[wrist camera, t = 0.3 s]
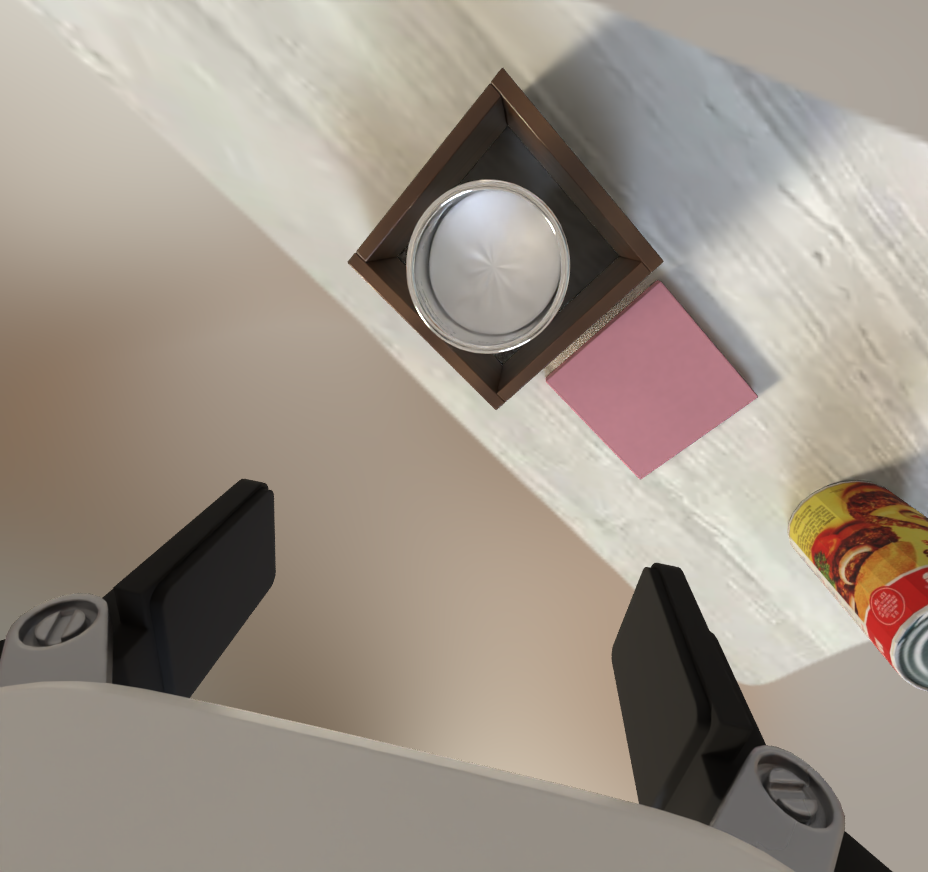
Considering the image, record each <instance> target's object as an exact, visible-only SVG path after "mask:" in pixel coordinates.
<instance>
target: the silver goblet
mask: <svg viewBox="0 0 928 872" xmlns="http://www.w3.org/2000/svg"><path fill="white" fill-rule="evenodd" d="M569 275H570V255H569V249H568V244H567V240H566V236H565V233H564V231H563V228H562V226H561V224H560V222H559V220H558V218H557V217H556V215H555V214H554V212H553V211H552V210H551V209H550V207H549V206H548V205H547V204H546V203H545V202H544V201H543V200H542V199H540V198H539V197H538V196H537V195H535V194H534V193H532V192H531V191H529V190H527V189H525V188H523V187H521V186H519V185H517V184H514V183H511V182H507V181H502V180H492V179H486V180H476V181H471V182H467V183H464V184H461V185H459V186H457V187H454V188H453V189H451V190H449V191H447V192H446V193H444V194H443V195H441V196H440V197H439V198H438V199H436V200H435V201H434V202H433V203H432V204H431V205H430V206H429V207H428V209H427V210H426V211H425V212H424V214H423V215H422V217H421V218H420V220H419V221H418V223H417V225H416V227H415V229H414V231H413V234H412V236H411V239H410V243H409V247H408V251H407V259H406V276H407V284H408V289H409V292H410V296H411V299H412V301H413V304H414V306H415V308H416V310H417V312H418V313H419V315H420V317H421V318H422V320H423V321H424V322H425V324H426V325H427V326H428V327H429V328H430V329H431V330H432V331H433V332H434V333H435V334H436V335H437V336H439V337H440V338H441V339H442V340H444V341H446V342H447V343H449V344H451V345H453V346H455V347H457V348H459V349H462V350H465V351H469V352H474V353H483V354H491V353H500V352H505V351H509V350H512V349H515V348H517V347H520V346H522V345H524V344H526V343H527V342H529V341H531V340H532V339H533V338H535V337H536V336H537V335H539V334H540V333H541V332H542V331H543V330H544V329H545V328H546V327H547V326H548V325H549V323H550V322H551V321H552V320H553V318H554V317H555V315H556V314H557V312H558V310H559V308H560V306H561V304H562V302H563V300H564V297H565V294H566V291H567V287H568V282H569Z"/></svg>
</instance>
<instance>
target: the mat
mask: <svg viewBox="0 0 928 872" xmlns="http://www.w3.org/2000/svg"><path fill="white" fill-rule="evenodd" d="M546 382H547V383H548V384H549V386H550V387H551V388H552V389H553V390H554V391H555V392H556V393H557V394H558V395H559V396H560V397H561V398H562V399H563V400H564V401H565V402H566V403H567V404H568V405H569V406H570V407H571V408H572V409H573V410H574V412H575V413H576V414H577V415H578V416H579V417H580V418H581V419H582V420H583V421H584V422H585V423H586V424H587V425H588V426H589V427H590V428H591V429H592V430H593V431H594V432H595V433H596V434H597V435H598V436H599V438H600V439H601V440H602V441H603V442H604V443H605V444H606V445H607V446H608V447H609V448H610V449H611V450H612V451H613V452H614V453H615V454H616V455H617V456H618V457H619V458H620V459H621V460H622V461H623V462H624V464H625V465H626V466H627V467H628V468H629V469H630V470H631V471H632V472H633V473H634V474H635V475H636V476H637V477H638V478H639V479H642V478H644V477H645V476H646V475H648V474H649V473H651V472H652V471H654V470H655V469H656V468H658V467H659V466H661V465H662V464H664V463H665V462H666V461H668V460H669V459H671V458H672V457H674V456H675V455H676V454H678V453H679V452H681V451H682V450H684V449H685V448H686V447H688V446H689V445H691V444H692V443H693V442H695V441H696V440H698V439H699V438H701V437H702V436H703V435H705V434H706V433H708V432H709V431H711V430H712V429H713V428H715V427H716V426H718V425H719V424H721V423H722V422H723V421H725V420H726V419H728V418H729V417H731V416H732V415H733V414H735V413H736V412H738V411H739V410H740V409H742V408H743V407H745V406H746V405H748V404H749V403H750V402H752V401H753V400H755V399H756V398H757V397H758V396H757V394H756V393H755V392H754V391H753V390H752V389H751V387H750V386H749V385H748V384H747V383H746V381H745V380H744V379H743V378H742V377H741V375H740V374H739V373H738V372H737V371H736V370H735V368H734V367H733V366H732V365H731V364H730V362H729V361H728V360H727V359H726V358H725V357H724V355H723V354H722V353H721V352H720V351H719V349H718V348H717V347H716V346H715V345H714V343H713V342H712V341H711V340H710V339H709V338H708V336H707V335H706V334H705V333H704V332H703V330H702V329H701V328H700V327H699V326H698V324H697V323H696V322H695V321H694V320H693V319H692V317H691V316H690V315H689V314H688V313H687V311H686V310H685V309H684V308H683V307H682V306H681V304H680V303H679V302H678V301H677V300H676V298H675V297H674V296H673V295H672V294H671V292H670V291H669V290H668V289H667V288H666V287H665V285H664V284H663V283H662V282H661V281H658V280H657V281H655V282H654V283H653V284H652V285H651V286H650V287H648V288H647V289H646V290H645V291H644V292H643V293H642V294H640V295H639V296H638V297H637V298H636V299H635V300H634V301H632V302H631V303H630V304H629V305H628V306H627V307H626V308H625V309H623V310H622V311H621V312H620V313H619V314H618V315H617V316H615V317H614V318H613V319H612V320H611V321H610V322H609V323H607V324H606V325H605V326H604V327H603V328H602V329H601V330H599V331H598V332H597V333H596V334H595V335H594V336H593V337H591V338H590V339H589V340H588V341H587V342H586V343H585V344H584V345H582V346H581V347H580V348H579V349H578V350H577V351H576V352H574V353H573V354H572V355H571V356H570V357H569V358H568V359H566V360H565V361H564V362H563V363H562V364H561V365H560V366H558V367H557V368H556V369H555V370H554V371H553V372H552V373H550V374H549V375H548V376H547V377H546Z"/></svg>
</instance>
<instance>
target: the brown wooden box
mask: <svg viewBox="0 0 928 872" xmlns="http://www.w3.org/2000/svg"><path fill="white" fill-rule="evenodd" d="M507 125H508V126H509V127H510V129H511V130H512V131H513V132H514V133H515V134H516V136H517V137H518V138H519V139H520V140H521V141H522V143H523V144H524V145H525V146H526V147H527V148H528V150H529V151H530V152H531V153H532V154H533V155H534V157H535V158H536V159H537V160H538V161H539V162H540V164H541V165H542V166H543V167H544V168H545V170H546V171H547V172H548V173H549V174H550V175H551V177H552V178H553V179H554V180H555V181H556V182H557V184H558V185H559V186H560V187H561V188H562V189H563V191H564V192H565V193H566V194H567V195H568V196H569V198H570V199H571V200H572V201H573V202H574V203H575V205H576V206H577V207H578V208H579V209H580V210H581V212H582V213H583V214H584V215H585V216H586V218H587V219H588V220H589V221H590V222H591V223H592V225H593V226H594V227H595V228H596V229H597V230H598V232H599V233H600V234H601V235H602V236H603V237H604V239H605V240H606V241H607V242H608V243H609V244H610V246H611V247H612V248H613V249H614V250H615V251H616V253H617V254H618V255H619V257H618V258H617V259H616V260H615V261H613V262H612V263H611V264H610V265H609V266H608V267H607V268H606V269H605V270H604V271H603V272H602V273H601V274H600V275H598V276H597V277H596V278H595V279H594V280H593V281H592V282H591V283H590V284H589V285H588V286H587V287H586V288H585V289H583V290H582V291H581V292H580V293H579V294H578V295H577V296H576V297H575V298H574V299H573V300H572V301H571V302H570V303H568V304H567V305H566V306H565V307H564V308H563V309H562V310H561V311H560V312H559V313H558V314H557V315H556V316H555V317H554V318H553V320H552V321H551V322H550V323H549V325H548V326H547V327H546V328H545V329H544V330H543V331H542V332H541V333H540V334H539V335H537V336H536V337H535V338H533V339H532V340H531V341H529V342H527V343H526V344H524V345H523V346H522V347H521V348H520V349H519V350H518V351H517V352H516V353H515V354H514V355H513V356H512V357H511V358H509V359H508V360H507V361H506V362H505V363H504V364H503V365H502V364H501V363H500V362H499V361H498V360H497V359H496V358H495V357H494V356H493V355H492V354H483V353H474V352H469V351H465V350H462V349H459V348H457V347H455V346H453V345H451V344H449V343H447V342H446V341H444V340H442V339H441V338H440V337H439V336H437V335H436V334H435V333H434V332H433V331H432V330H431V329H430V328H429V327H428V326H427V325H426V324H425V322H424V321H423V320H422V318H421V317H420V315H419V313H418V312H417V310H416V308H415V306H414V304H413V301H412V299H411V296H410V292H409V289H408V284H407V276H406V266H405V265H404V264H403V263H402V262H401V261H400V260H399V259H398V258H397V256H398V255H399V254H400V253H401V252H402V251H403V250H404V248H405V247H406V246H407V245H408V244H409V242H410V239H411V236H412V234H413V231H414V229H415V227H416V225H417V223H418V221H419V220H420V218H421V217H422V215H423V214H424V212H425V211H426V210H427V209H428V207H429V206H430V205H431V204H432V203H433V202H434V201H435V200H436V199H438V198H439V197H440V196H441V195H443V194H444V193H446V192H447V191H449V190H451V189H453V188H454V187H457V185H458V184H459V183H460V182H461V181H462V179H463V178H464V177H465V176H466V175H467V174H468V172H469V171H470V170H471V169H472V168H473V166H474V165H475V164H476V163H477V162H478V160H479V159H480V158H481V157H482V156H483V155H484V153H485V152H486V151H487V150H488V149H489V147H490V146H491V145H492V144H493V143H494V141H495V140H496V139H497V138H498V137H499V136H500V134H501V133H502V132H503V131H504V130H505V128H506V127H507ZM662 263H663V260H662V258H661V257H660V256H659V255H658V254H657V252H656V251H655V250H654V249H653V248H652V246H651V245H650V244H649V243H648V242H647V240H646V239H645V238H644V237H643V236H642V234H641V233H640V232H639V231H638V230H637V228H636V227H635V226H634V225H633V224H632V222H631V221H630V220H629V219H628V218H627V216H626V215H625V214H624V213H623V212H622V210H621V209H620V208H619V207H618V206H617V204H616V203H615V202H614V201H613V199H612V198H611V197H610V196H609V195H608V193H607V192H606V191H605V190H604V189H603V187H602V186H601V185H600V184H599V183H598V181H597V180H596V179H595V178H594V177H593V175H592V174H591V173H590V172H589V171H588V169H587V168H586V167H585V166H584V165H583V163H582V162H581V161H580V160H579V159H578V157H577V156H576V155H575V154H574V153H573V151H572V150H571V149H570V148H569V147H568V145H567V144H566V143H565V142H564V141H563V139H562V138H561V137H560V136H559V135H558V133H557V132H556V131H555V130H554V129H553V127H552V126H551V125H550V124H549V123H548V121H547V120H546V119H545V118H544V117H543V115H542V114H541V113H540V112H539V111H538V109H537V108H536V107H535V106H534V105H533V103H532V102H531V101H530V100H529V99H528V97H527V96H526V95H525V94H524V93H523V91H522V90H521V89H520V88H519V87H518V85H517V84H516V83H515V82H514V81H513V79H512V78H511V77H510V76H509V75H508V73H507V72H506V71H505V70H504V69H503V68H501V70H500V71H499V72H498V73H497V75H496V76H495V77H494V78H493V80H492V81H491V84H489V85H488V86H487V88H486V89H485V90H484V91H483V93H482V94H481V95H480V96H479V98H478V99H477V100H476V101H475V103H474V104H473V105H472V106H471V108H470V109H469V110H468V111H467V113H466V114H465V115H464V117H463V118H462V119H461V120H460V122H459V123H458V124H457V125H456V127H455V128H454V129H453V130H452V132H451V133H450V134H449V135H448V137H447V138H446V139H445V140H444V142H443V143H442V144H441V145H440V147H439V148H438V149H437V150H436V152H435V153H434V154H433V156H432V157H431V158H430V159H429V161H428V162H427V163H426V164H425V166H424V167H423V168H422V169H421V171H420V172H419V173H418V174H417V176H416V177H415V178H414V179H413V181H412V182H411V183H410V184H409V186H408V187H407V188H406V189H405V191H404V192H403V193H402V194H401V196H400V197H399V198H398V200H397V201H396V202H395V203H394V205H393V206H392V207H391V208H390V210H389V211H388V212H387V213H386V215H385V216H384V217H383V218H382V220H381V221H380V222H379V223H378V225H377V226H376V227H375V228H374V230H373V231H372V232H371V233H370V235H369V236H368V237H367V239H366V240H365V241H364V242H363V244H362V245H361V246H360V247H359V249H358V250H357V253H354V255H353V256H352V257H351V258H350V260H349V261H348V264H349V265H350V266H351V267H352V268H353V269H354V270H355V271H356V272H357V273H358V274H359V275H360V276H361V277H362V278H363V279H364V280H365V281H366V282H367V283H368V284H369V285H370V286H371V287H372V288H373V289H374V290H375V291H376V292H377V293H378V294H379V295H380V296H381V297H382V298H383V299H384V300H385V301H386V302H387V303H388V304H389V305H390V306H391V307H392V308H393V309H394V310H395V311H396V312H397V313H398V314H399V315H400V316H401V317H402V318H403V319H404V320H405V321H406V322H407V323H408V324H409V325H411V326H412V327H413V328H414V329H415V330H416V331H417V332H418V333H419V334H420V335H421V336H422V337H423V338H424V339H425V340H426V341H427V342H428V343H429V344H430V345H431V346H432V347H433V348H434V349H435V350H436V351H437V352H438V353H439V354H440V355H441V356H442V357H443V358H444V359H445V360H446V361H447V362H448V363H449V364H450V365H451V366H452V367H453V368H454V369H455V370H456V371H457V372H458V373H459V374H460V375H461V376H462V377H463V378H464V379H465V380H466V381H467V382H468V383H469V384H470V385H471V386H472V387H473V388H474V389H475V390H476V391H477V392H478V393H479V394H480V395H481V396H482V397H483V398H484V399H485V400H486V401H487V402H488V403H489V404H490V405H491V406H492V407H493V408H494V409H495V410H497V409H498V408H500V407H501V406H502V405H503V404H504V403H505V402H506V401H507V400H509V399H510V398H511V397H512V396H513V395H514V394H515V393H516V392H518V391H519V390H520V389H521V388H522V387H523V386H524V385H525V384H527V383H528V382H529V381H530V380H531V379H532V378H533V377H534V376H536V375H537V374H538V373H539V372H540V371H541V370H542V369H543V368H545V367H546V366H547V365H548V364H549V363H550V362H551V361H552V360H554V359H555V358H556V357H557V356H558V355H559V354H560V353H561V352H563V351H564V350H565V349H566V348H567V347H568V346H569V345H570V344H572V343H573V342H574V341H575V340H576V339H577V338H578V337H579V336H581V335H582V334H583V333H584V332H585V331H586V330H587V329H588V328H590V327H591V326H592V325H593V324H594V323H595V322H596V321H597V320H599V319H600V318H601V317H602V316H603V315H604V314H605V313H606V312H608V311H609V310H610V309H611V308H612V307H613V306H614V305H615V304H617V303H618V302H619V301H620V300H621V299H622V298H623V297H624V296H626V295H627V294H628V293H629V292H630V291H631V290H632V289H633V288H635V287H636V286H637V285H638V284H639V283H640V282H641V281H642V280H644V279H645V278H646V277H647V276H648V275H649V274H650V273H651V272H653V271H654V270H655V269H656V268H657V267H658V266H659V265H660V264H662Z"/></svg>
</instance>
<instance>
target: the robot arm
mask: <svg viewBox="0 0 928 872" xmlns="http://www.w3.org/2000/svg"><path fill="white" fill-rule="evenodd" d="M274 528H275V526H274V494H273V491H272V490H268V486H267V484H265V483H262V482H258V481H253V480H248V479H241V480H239V481H238V482H237V483H236V484H235V485H233V486H232V487H231V488H230V489H229V490H228V491H226V492H225V493H224V494H223V495H222V496H220V497H219V498H218V499H217V500H216V501H215V502H213V503H212V504H211V505H210V506H209V507H208V508H206V509H205V510H204V511H203V512H202V513H201V514H199V515H198V516H197V517H196V518H195V519H193V520H192V521H191V522H190V523H189V524H188V525H186V526H185V527H184V528H183V529H182V530H181V531H179V532H178V533H177V534H176V535H175V536H173V537H172V538H171V539H170V540H169V541H168V542H166V543H165V544H164V545H163V546H162V547H160V548H159V549H158V550H157V551H156V552H155V553H154V554H152V555H151V556H150V557H149V558H148V559H146V560H145V561H144V562H143V563H142V564H140V565H139V566H138V567H137V568H136V569H135V570H133V571H132V572H131V573H130V574H129V575H128V576H126V577H125V578H124V579H123V580H122V581H120V582H119V583H118V584H117V585H116V586H115V587H114V588H113V589H112V590H111V591H110V592H109V593H108V594H106V595H105V596H104V597H103V598H101V597H100V596H96V595H93V594H86V593H76V594H69V595H63V596H60V597H57V598H54V599H50V600H47V601H45V602H43V603H41V604H39V605H37V606H35V607H33V608H31V609H30V610H29V611H27V612H26V613H24V614H23V615H21V616H20V617H19V618H18V619H17V620H16V621H15V622H14V623H13V624H12V626H11V627H10V629H9V631H8V633H7V636H6V639H5V640H1V641H0V872H892V871H891V870H890V869H889V868H887V867H886V866H885V865H884V864H883V863H882V862H880V861H879V860H878V859H877V858H876V857H875V856H873V855H872V854H871V853H870V852H869V851H867V850H866V849H865V848H864V847H863V846H862V845H861V844H859V843H858V842H857V841H856V840H855V839H854V838H852V837H851V836H850V835H849V834H848V833H846V832H845V831H844V830H845V815H844V812H843V810H842V807H841V804H840V802H839V800H838V799H837V797H836V795H835V793H834V792H833V790H832V788H831V787H830V786H829V785H828V783H827V782H826V781H825V780H824V779H823V778H822V777H821V775H820V774H819V773H818V772H817V771H815V770H814V769H813V768H812V767H811V766H810V765H809V764H807V763H806V762H805V761H804V760H802V759H800V758H799V757H797V756H795V755H794V754H792V753H791V752H788V751H786V750H784V749H781V748H779V747H774V746H768V745H766V744H765V742H764V739H763V737H762V735H761V733H760V731H759V729H758V727H757V724H756V722H755V720H754V718H753V716H752V713H751V711H750V709H749V707H748V705H747V703H746V700H745V699H744V696H743V694H742V692H741V690H740V687H739V685H738V683H737V681H736V679H735V676H734V674H733V672H732V670H731V668H730V666H729V663H728V661H727V659H726V657H725V655H724V653H723V650H722V648H721V646H720V644H719V642H718V640H717V638H716V637H715V635H714V634H713V633H712V632H710V631H709V629H708V626H707V624H706V622H705V620H704V618H703V615H702V613H701V611H700V609H699V607H698V604H697V602H696V600H695V598H694V595H693V593H692V591H691V589H690V587H689V584H688V582H687V580H686V578H685V575H684V573H683V571H682V570H681V568H679V567H675V566H670V565H665V564H660V563H654V564H653V565H652V566H651V568H649V567H645V568H644V569H643V571H642V574H641V576H640V579H639V581H638V584H637V586H636V589H635V591H634V594H633V597H632V599H631V602H630V604H629V607H628V609H627V612H626V614H625V617H624V619H623V622H622V624H621V627H620V629H619V632H618V634H617V637H616V640H615V642H614V645H613V648H612V664H613V669H614V675H615V680H616V685H617V691H618V696H619V701H620V706H621V711H622V716H623V721H624V727H625V732H626V738H627V743H628V748H629V753H630V758H631V764H632V769H633V774H634V779H635V785H636V790H637V795H638V801H639V804H636V803H633V802H629V801H625V800H621V799H617V798H613V797H610V796H606V795H602V794H598V793H594V792H590V791H586V790H583V789H578V788H574V787H570V786H566V785H562V784H558V783H554V782H549V781H545V780H541V779H537V778H532V777H529V776H524V775H520V774H516V773H512V772H508V771H504V770H499V769H495V768H491V767H487V766H483V765H479V764H474V763H470V762H465V761H462V760H458V759H453V758H449V757H445V756H441V755H436V754H432V753H427V752H423V751H419V750H415V749H410V748H406V747H402V746H398V745H394V744H389V743H385V742H381V741H376V740H372V739H368V738H364V737H359V736H354V735H351V734H346V733H342V732H337V731H333V730H329V729H325V728H320V727H316V726H312V725H307V724H303V723H298V722H294V721H290V720H285V719H281V718H276V717H272V716H268V715H263V714H259V713H254V712H250V711H245V710H241V709H237V708H232V707H228V706H224V705H219V704H215V703H210V702H205V701H200V700H196V699H191V698H190V697H191V695H192V694H193V693H194V691H195V690H196V689H197V687H198V686H199V685H200V683H201V682H202V680H203V679H204V678H205V676H206V675H207V674H208V672H209V671H210V670H211V668H212V667H213V665H214V664H215V663H216V661H217V660H218V659H219V657H220V656H221V655H222V653H223V652H224V650H225V649H226V648H227V646H228V645H229V644H230V642H231V641H232V640H233V638H234V637H235V635H236V634H237V633H238V631H239V630H240V629H241V627H242V626H243V625H244V623H245V622H246V620H247V619H248V617H249V616H250V615H251V614H252V612H253V611H254V610H255V608H256V607H257V605H258V604H259V602H260V601H261V600H262V599H263V597H264V596H265V594H266V593H267V592H268V590H269V589H270V588H271V586H272V584H273V582H274V578H275V573H276V570H275V569H276V568H275V529H274Z"/></svg>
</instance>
